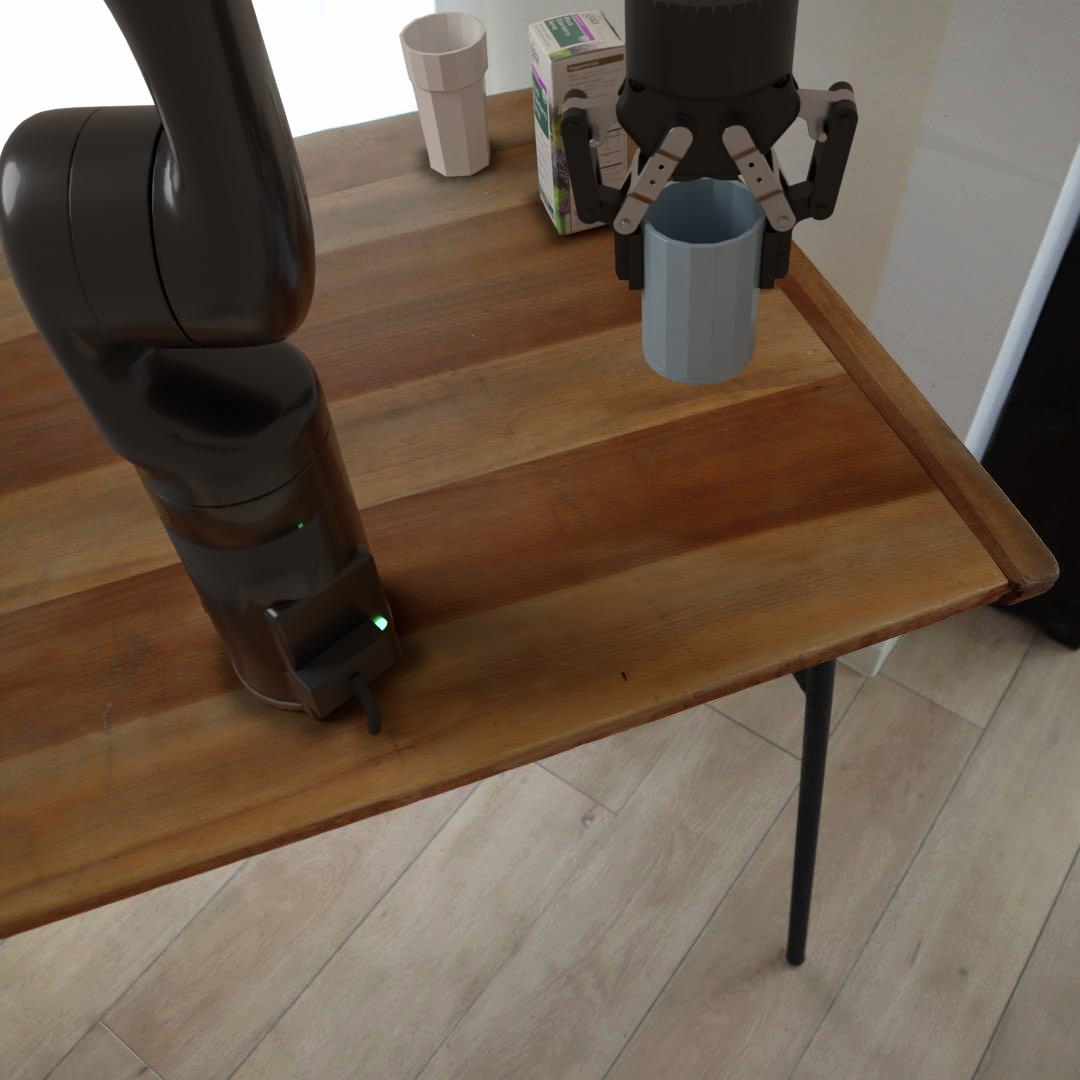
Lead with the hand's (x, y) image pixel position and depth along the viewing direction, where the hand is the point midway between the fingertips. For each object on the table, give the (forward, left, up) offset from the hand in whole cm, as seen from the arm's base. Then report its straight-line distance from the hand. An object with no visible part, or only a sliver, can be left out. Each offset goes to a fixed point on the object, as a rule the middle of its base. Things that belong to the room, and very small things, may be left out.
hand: (701, 279), depth 62 cm
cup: (+38, -13, -16) cm, 43 cm away
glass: (0, 0, -5) cm, 5 cm away
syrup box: (+26, -15, -16) cm, 33 cm away
